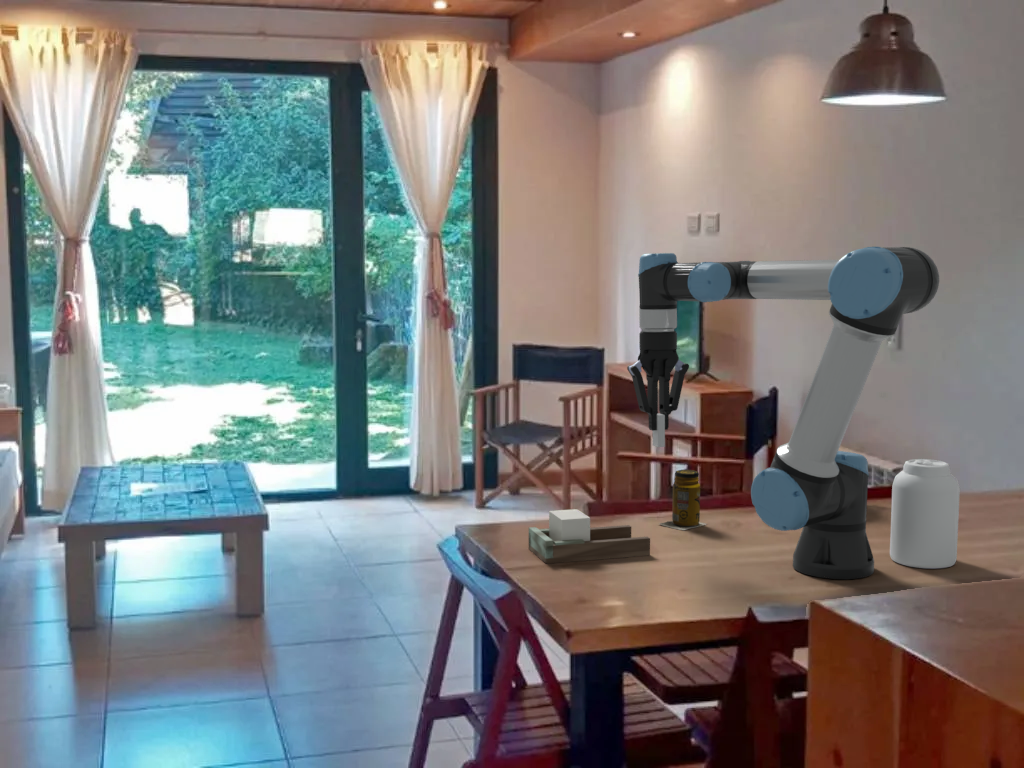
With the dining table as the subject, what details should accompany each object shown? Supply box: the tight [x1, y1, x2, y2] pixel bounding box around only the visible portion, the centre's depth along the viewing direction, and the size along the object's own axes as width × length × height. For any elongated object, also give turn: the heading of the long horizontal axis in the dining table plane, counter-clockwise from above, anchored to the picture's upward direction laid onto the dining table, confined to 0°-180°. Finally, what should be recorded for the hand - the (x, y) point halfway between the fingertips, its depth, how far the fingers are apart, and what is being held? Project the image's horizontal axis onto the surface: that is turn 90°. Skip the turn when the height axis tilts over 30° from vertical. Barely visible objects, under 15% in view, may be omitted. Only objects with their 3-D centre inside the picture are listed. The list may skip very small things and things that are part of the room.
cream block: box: [548, 508, 591, 541], centre depth 241 cm, size 8×6×7 cm
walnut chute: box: [528, 524, 651, 565], centre depth 243 cm, size 12×22×4 cm, turn 106°
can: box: [889, 458, 961, 570], centre depth 235 cm, size 12×12×20 cm
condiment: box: [658, 469, 707, 531], centre depth 265 cm, size 7×8×12 cm
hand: (658, 445), depth 243 cm, fingers closed
